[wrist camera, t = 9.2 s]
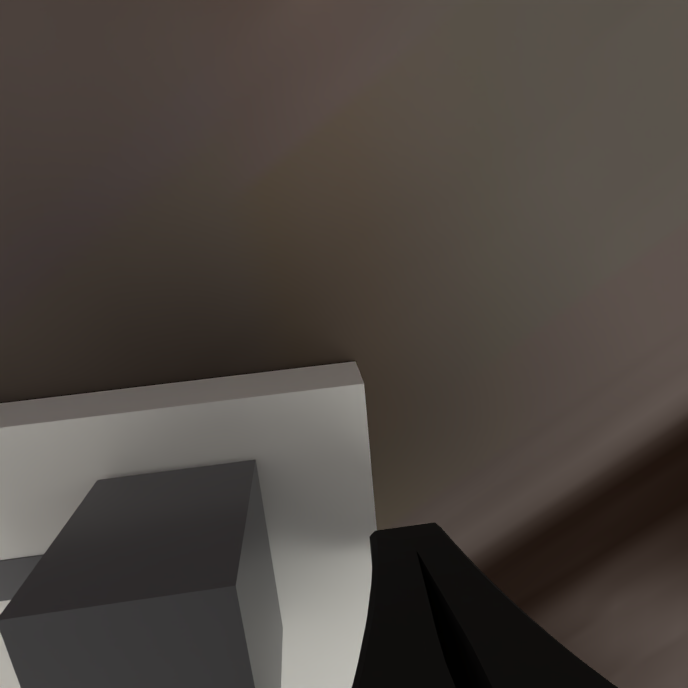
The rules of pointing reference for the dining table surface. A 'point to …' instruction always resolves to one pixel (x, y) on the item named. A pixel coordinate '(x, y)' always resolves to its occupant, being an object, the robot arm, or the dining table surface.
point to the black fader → (154, 588)
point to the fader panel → (211, 449)
